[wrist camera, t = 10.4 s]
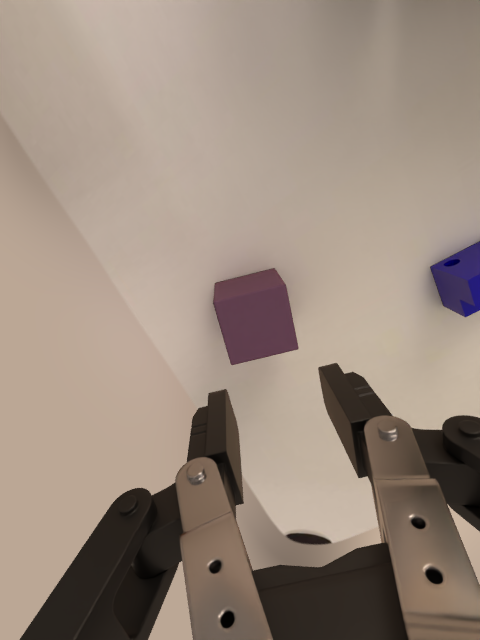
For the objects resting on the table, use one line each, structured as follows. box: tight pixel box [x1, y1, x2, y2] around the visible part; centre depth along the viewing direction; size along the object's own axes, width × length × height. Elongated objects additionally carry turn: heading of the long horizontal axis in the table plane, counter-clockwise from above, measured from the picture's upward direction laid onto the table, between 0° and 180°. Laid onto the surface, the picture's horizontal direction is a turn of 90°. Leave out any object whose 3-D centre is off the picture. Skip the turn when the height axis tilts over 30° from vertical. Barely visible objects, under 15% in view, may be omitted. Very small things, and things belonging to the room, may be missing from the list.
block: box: [213, 268, 298, 365], centre depth 23 cm, size 4×4×4 cm
